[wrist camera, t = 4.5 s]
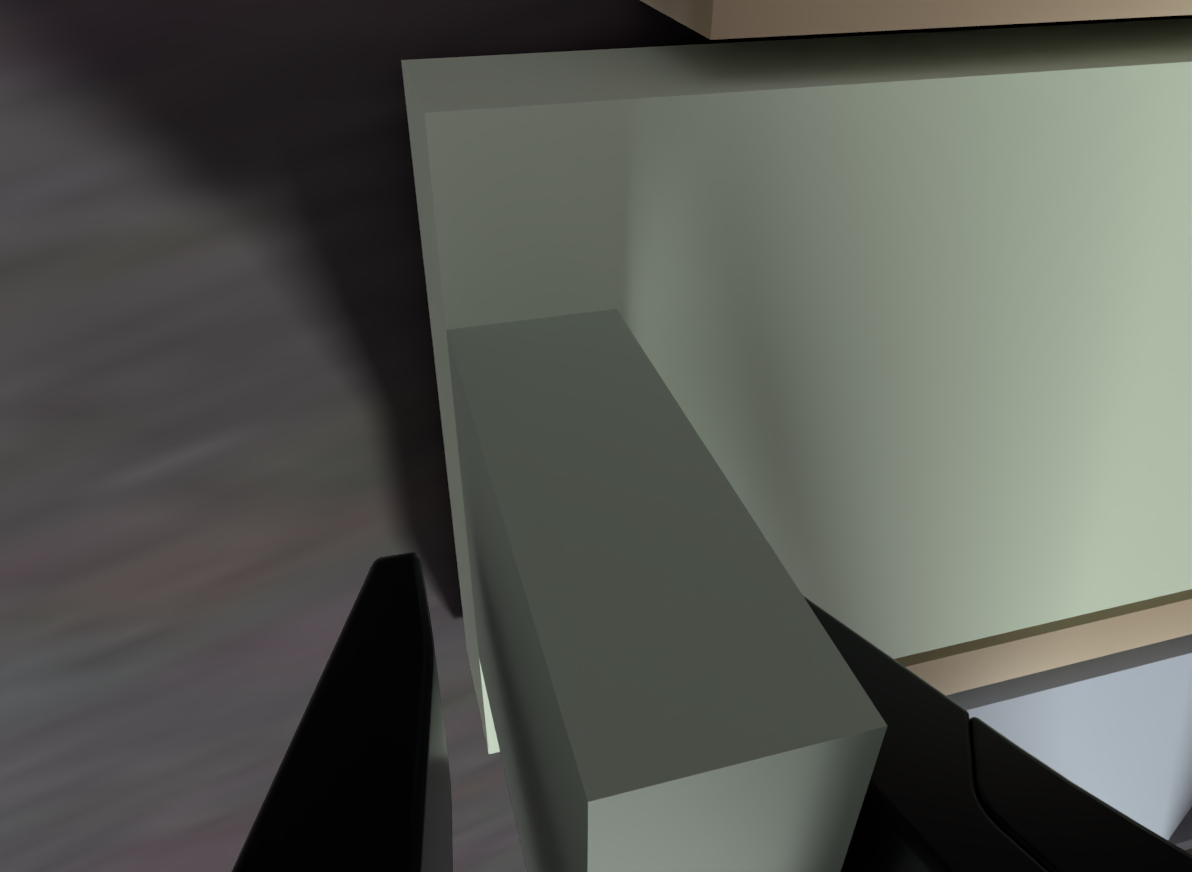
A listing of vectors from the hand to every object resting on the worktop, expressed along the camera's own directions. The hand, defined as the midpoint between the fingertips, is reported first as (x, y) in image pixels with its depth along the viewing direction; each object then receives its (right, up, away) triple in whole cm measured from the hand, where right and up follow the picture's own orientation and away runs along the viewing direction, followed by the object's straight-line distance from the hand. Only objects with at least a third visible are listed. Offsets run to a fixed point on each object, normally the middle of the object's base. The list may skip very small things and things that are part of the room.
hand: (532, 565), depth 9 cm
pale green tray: (+8, +3, +4) cm, 10 cm away
